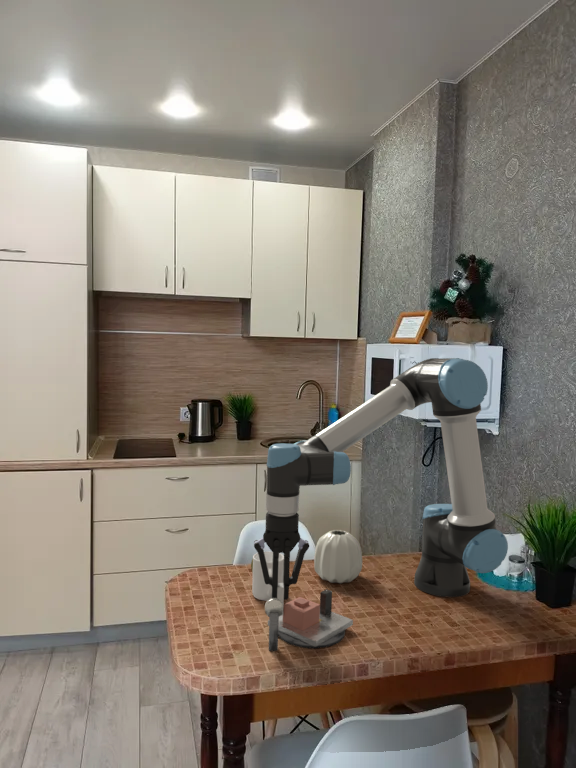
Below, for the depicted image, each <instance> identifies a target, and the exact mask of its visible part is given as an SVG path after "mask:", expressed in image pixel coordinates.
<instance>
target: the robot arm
mask: <svg viewBox="0 0 576 768" xmlns="http://www.w3.org/2000/svg"><path fill="white" fill-rule="evenodd" d="M389 383H390V384H389V386H387V387H386V388H385V389H383V390H381V391H380V392H379V393H377V394H375V395H373V396H372V397H371V398H369V399H368V400H365V402H363V403H362V404H360V405H359V406H358V407H355V409H353V410H352V411H350V412H348V413H347V414H345V415H344V416H342V417H341V418H339V419H338V420H336V421H335V422H333V423H331V424H330V425H329V426H327V427H326V428H324V429H322V430H321V431H319V432H318V433H317V434H315V435H313V436H312V437H310V438H309V439H307V440H301V441H297V442H295V443H286V442H285V443H273V444H272V445H270V446H269V447H268V451H267V459H266V499H265V501H266V502H265V510H266V511H267V512H266V513H265V531H264V533H263V534H262V535H263V536H262V537H261V538H260V539H256V540H254V541H253V547H254V549H255V551H256V553H258V554H259V559H260V563H261V568H262V572H263V577H264V581H265V584H270V585H271V586H272V598H277V599H279V600H281V602H282V604H283V606H284V604H285V603H284V602H285V601H288V600H289V597H290V596H289V595H290V594H289V592H290V590H289V589H290V586H291V585H296V584H297V583H298V579H299V576H300V571H301V569H302V564H303V561H304V558H305V554H306V552H307V551H308V550H309V548H310V543H309V541H308V540H307V539H303V538H302V537H301V535H300V532H299V522H300V521H299V519H300V517H299V516H300V515H299V513H298V512H299V510H300V487H301V486H302V487H304V486H305V487H306V486H327V485H328V486H329V485H330V486H331V485H332V486H335V485H341V484H346V483H347V482H348V481H349V480H350V477H351V471H352V465H351V460H350V457H349V455H348V454H347V453H345V452H344V451H347V450H348V449H349V448H351V447H352V446H353V445H354V446H355V444H356V443H358V442H360V441H361V440H363V439H364V438H365V437H367V436H368V435H370V434H372V433H373V432H375V430H377V429H379V428H381V426H383V425H385V424H386V423H388V422H389V421H391V420H392V419H394V418H396V417H397V416H398V415H399V414H401V413H403V412H404V411H405V410H409V411H413V410H414V409H416V408H417V407H419V406H421V405H424V404H427V403H431V408H432V409H431V410H432V414H433V417H435V418H436V419H437V420H439V421H440V429H441V436H442V442H443V444H442V445H443V450H444V457H445V458H444V459H445V465H446V473H447V478H448V479H447V481H448V485H449V488H448V489H449V493H450V494H449V495H450V502H451V503H434V504H433V503H432V504H428V505H426V506H424V507H423V508H424V509H423V514H422V535H421V536H422V539H421V541H422V542H421V557H420V561H419V563H418V564H417V568H416V571H415V573H414V578H413V580H414V582H413V584H414V585H415V587H416V588H417V589H418V590H420V591H421V592H424V593H426V594H429V595H433V596H436V597H443V598H459V597H464V596H467V595H468V594H469V593H470V591H471V579H470V576H469V573H468V570H472V571H474V572H475V573H479V574H487V573H491V572H493V571H495V570H496V569H498V568H499V567H500V566H501V565H502V562H503V561H505V560H506V557H507V555H508V549H509V542H508V540H507V537H506V536H505V534H504V533H503V532H502V531H501V530H499V529H497V523H496V516H495V513H494V512H493V511H491V510H490V509H489V508H488V502H487V494H486V487H485V478H484V472H483V471H484V470H483V463H482V456H481V455H482V454H481V448H480V447H481V446H480V440H479V432H478V425H477V424H478V423H477V416H478V415H479V414H480V413H481V411H482V405H481V404H482V402H483V401H484V400H485V396H487V395H488V394H487V393H488V389H489V388H488V387H489V385H488V377H487V376H486V374H485V371H484V370H483V369H482V368H481V366H480V365H478V364H477V363H475V362H474V361H472V360H469V359H463V358H458V357H457V358H455V357H453V358H452V357H451V358H450V357H449V358H438V357H437V358H428V359H427V358H426V359H424V360H422V361H420V362H418V363H416V364H415V365H413V366H410V367H409V368H408V369H406V370H405V371H403V372H402V373H400V374H399V375H397V376H395V377H394V378H393V379H391V380H390V382H389ZM265 544H266V545H267V546H268V548H269V549H270V550H269V551H270V552H273V565H272V577H269V572H268V568H267V563H266V559H265V554H264V552H265V550H264V549H265ZM296 545H297V546H298V550H297V553H296V558H295V561H294V565H293V568H292V572H291V576H290V565H291V564H290V563H291V560H290V559H291V552H292V551H293V549H295V547H296ZM279 553H280V554H283V556H284V568H283V583H278V560H279ZM281 616H283V613H282V614H281Z"/></svg>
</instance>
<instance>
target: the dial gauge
mask: <svg viewBox="0 0 576 768" xmlns="http://www.w3.org/2000/svg"><path fill="white" fill-rule="evenodd" d="M264 611H265V614H266V616H267V617H269V618H268V620H269V626H268V650H269V651H270V652H277V651H278V650H279V637H278V623H279V616H281V614H282V613H283V604H282V602H281V600H279V599H277V598H271V599H269V600H268V601H265V604H264Z"/></svg>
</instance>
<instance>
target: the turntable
mask: <svg viewBox="0 0 576 768" xmlns="http://www.w3.org/2000/svg"><path fill="white" fill-rule="evenodd" d="M319 596H320V597H319V598H320V599H319V604H320V618H319V622H318V623H316V624H314V625H312V626H310V627H308V628H307V629H305V630H301V629H298V628H296V627H294V626H291V625H289V624H287V623H285V622H283V616H279V623H278V630H279V631H281V632H283V633H285V634H288V635H290V636H292V637H294V638H296V639H299V640H301V641H303V642H305V643H308V644H310V645H312V646H314V647H317V646H318V645H320V644H322V643H323V642H325V641H327V640H328V639H330V638H332V637H333V636H335V635H337V634H338V633H340V632H342V631H343V630H345V631H346V630H347V629H348V628H350V627H352V626H353V625H354V624H353V623H354V620H353V618H352V619H351V618H349V617H347V616H344V615H341V614H339V613H337V612H334V611H332V610H333V609H332V606H333V605H332V604H333V591H332V590H330V589H327V588H326V589H324V590H322V591H321V592H320V595H319ZM267 626H268V627H269V619H268V620H267Z"/></svg>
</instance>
